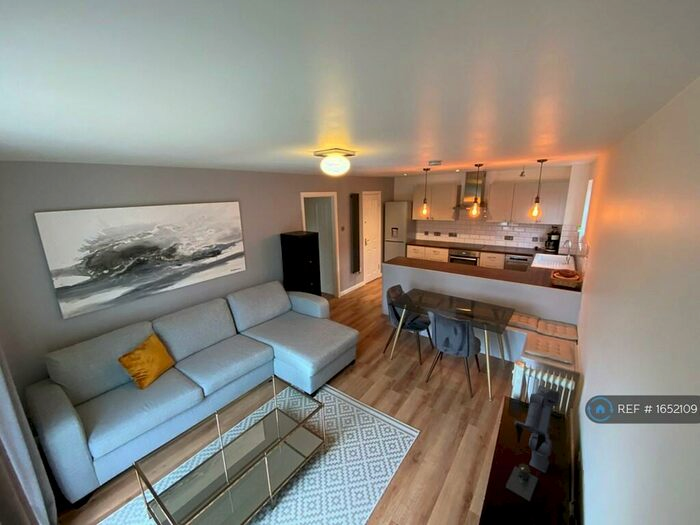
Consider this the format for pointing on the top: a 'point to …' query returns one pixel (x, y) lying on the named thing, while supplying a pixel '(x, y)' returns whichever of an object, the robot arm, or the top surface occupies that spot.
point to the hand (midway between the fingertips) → (527, 446)
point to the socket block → (521, 484)
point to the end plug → (524, 471)
